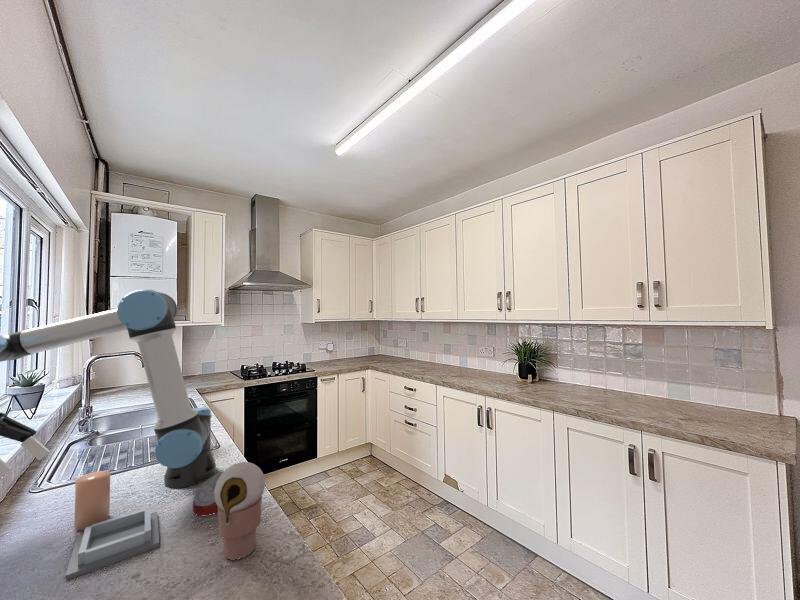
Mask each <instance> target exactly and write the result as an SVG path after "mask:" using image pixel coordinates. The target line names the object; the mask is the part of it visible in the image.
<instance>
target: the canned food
mask: <svg viewBox="0 0 800 600" xmlns="http://www.w3.org/2000/svg"><path fill="white" fill-rule="evenodd" d="M223 472H224V471H221V472H218V473H215V474H214V475H213V476H212V477H211V478H209V479H207V480H205V481H204V482H203V483H202V484H201V485H200V486H199V488H198V489H197V490H196V491H195V493H194V496H193V500H192V508H193V509H192V510H193V511H192V513H193V512H194V513H195V514H197V515H209V514H213V513H217V512H218V506H217V504H216V502H215V498H214V490H215V486H216V483H217V481H218V479H219V477H220V476H221V474H222V473H223ZM194 513H193V514H194ZM195 514H194V515H195ZM217 514H218V513H217Z"/></svg>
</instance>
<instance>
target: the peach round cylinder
mask: <svg viewBox="0 0 800 600" xmlns="http://www.w3.org/2000/svg"><path fill="white" fill-rule="evenodd" d="M74 484H75V485H74V486H75V490H74V524H73V525H74V527H73V528H74V529H75V530H76V531H85V528H86V527H89V526H92V524H96V523H99V522H102V521H106V520H109V519H110V512H111V511H110V509H111V507H110V506H111V505H110V503H111V471H109V470H99V471H93V472H90V473H87V474H84V475H82V476H79V477H78V478H77V479H76V480H75V483H74Z"/></svg>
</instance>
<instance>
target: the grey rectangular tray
mask: <svg viewBox="0 0 800 600" xmlns="http://www.w3.org/2000/svg"><path fill="white" fill-rule="evenodd" d="M159 532H160V531H159V520H158V511H155V512H151V507H150V508H146V509H145V508H143V509H139V510H136V511H133V512H130V513H129V512H128V513H126V514H123V515H120V516H116V517H113V518H108V519H107V520H106V521H102V522H99V523H96V524H92V526H89V527H86V528H85V529H84V530H83V534H80V535H77V537H76V541H75V543H74V547H73V550H72V553H71V557H70V560H69V563H68V567H67V570H66V573H65V581H69V580H70V579H73V578H75V577H79V576H82V575H84V574H87V573H90V572H92V571H96V570H99V569H101V568H103V567H106V566H109V565H113V564H115V563H117V562H120V561H124V560H127V559H130V558H132V557H134V556H137V555H141V554H143V553H145V552H148V551H151V550H153V549H157V548H159V547H160V537H159V536H160V534H159Z"/></svg>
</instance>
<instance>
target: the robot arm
mask: <svg viewBox="0 0 800 600" xmlns="http://www.w3.org/2000/svg"><path fill="white" fill-rule="evenodd" d="M177 314H178V305H177V303H176V301H175V300H174V298H173V297H172V296H170V295H168V294H167V293H164V292H159V291H156V290H154V289H139V290H134V291H131V292H129V293H127V294H125V295H124V296H123V297H122V298H121V299H120V301H119V303H118V304H117V307H116V308H114V309H109V310H105V311H101V312H98V313H94V314H93V313H92V314H89V315H83V316H81V317H80V316H79V317H76V318H72V319H68V320H67V319H66V320H63V321H62V320H61V321H59V322H54V323H50V324H47V325H46V324H45V325H41V326H38V327H34V328H28V329H24V330H20V331H16V332H11V333H8V334H3V335H2V334H0V362H6V361H15V360H19V359H22V358H24V357H27V356H31V355H34V354H38V353H42V352H46V351H49V350H53V349H58V348H62V347H66V346H70V345H73V344H77V343H82V342H84V341H90V340H93V339H97V338H100V337H104V336H109V335H112V334H117V333H120V332H124V331H127V334H128V337H129V340H131V341H133V342H135V343H137V346H138V349H139V353H140V357H141V360H142V364H143V367H144V371H145V374H146V378H147V382H148V387H149V389H150V394H151V397H152V402H153V405H154V409H155V411H156V412H155V413H157V414H156V418H157V417H158V421H157V422H155V424H154V426H153V430H154V434H155V439H156V441H157V442H156V443H155V447H154V454H155V457H154V458H155V459H156V461H157V462H158V463H159V464H160V465H162V466H164V467H166V470H165V473H164V477H163V478H164V479H163V483H164V485H165V487H168V488H173V489H174V488H175V489H177V488H180V489H181V488H186V487H190V486H195V485H197V484H200V482H201V483H204V482H206V481H207V480H208V479H209V478H210V477H211V476H212V477H213V476H214V475H215V474H216V473H215V472H217V464H216V461H215V458H214V456H213V453H212V449H211V442H212V441H211V440H212V439H211V430H212V429H211V425H212V421H211V419H212V414H211V409H210V408H208V407H196V408H195V407H194V408H192V407H191V404H190V403H191V402H190V399H189V395H188V392H187V387H186V384H185V381H184V377H183V373H182V368H181V365H180V362H179V357H178V353H177V350H176V346H175V342H174V338H173V334H174V333H175V331H176V330H177V327H176V323H175V318H176V316H177ZM36 434H37V430H36V429H33V428H31V427H29V426H27V425H26V424H23V423H21V422H19V421H17V420H15V419H13V418H11V417H9V416H8V415H6V414H5V413H3V412H0V437H4V438H7V439H10V440H12V441H17V442H18V443H19V442H20V446H21V447H23V448H24V449H25V450H26V451H27V452H28V453H30V455H32V456H33V457H35V459H37V460H38V461H41V460H42V459H44V458H45V457H46V456H47V455H49V454H50V453H51V450H50V449H48V448H47V447H46V446H45V445H44V444H42V443H41V442H40V441H39V440H37V439H36V437H34V436H35V435H36ZM11 470H12V467H11V466H10V465H8V464H7V463H6V462H5V461H4V460H2V459H1V458H0V478H2V477H3V476H4V475H5V474H6V473H9V472H10V471H11Z"/></svg>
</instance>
